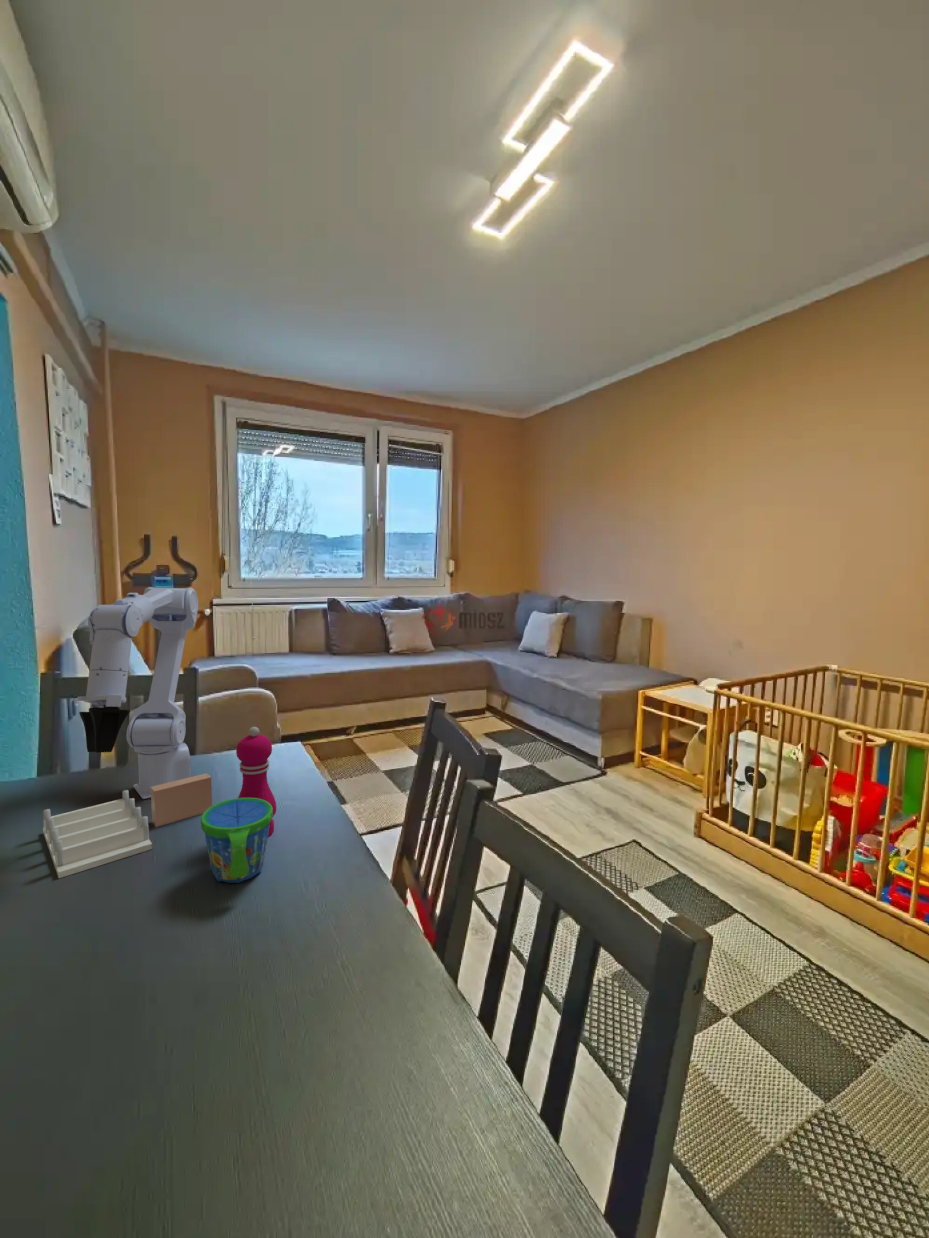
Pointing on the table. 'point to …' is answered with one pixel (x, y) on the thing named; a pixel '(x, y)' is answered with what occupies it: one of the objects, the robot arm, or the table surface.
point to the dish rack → (95, 835)
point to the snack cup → (237, 837)
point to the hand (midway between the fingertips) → (99, 752)
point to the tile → (180, 799)
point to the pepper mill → (256, 768)
